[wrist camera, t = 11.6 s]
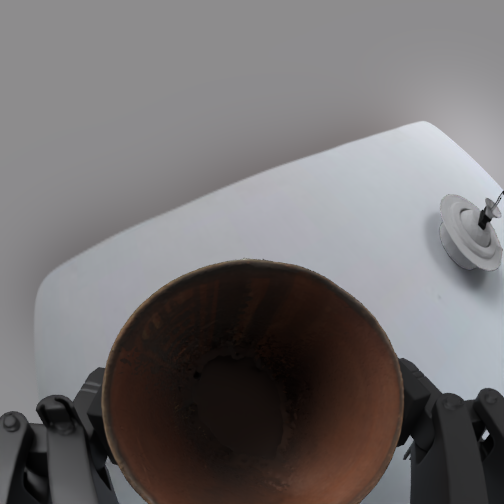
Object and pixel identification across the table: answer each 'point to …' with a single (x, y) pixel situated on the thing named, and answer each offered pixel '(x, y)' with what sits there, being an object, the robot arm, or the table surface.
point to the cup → (252, 390)
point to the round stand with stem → (470, 233)
